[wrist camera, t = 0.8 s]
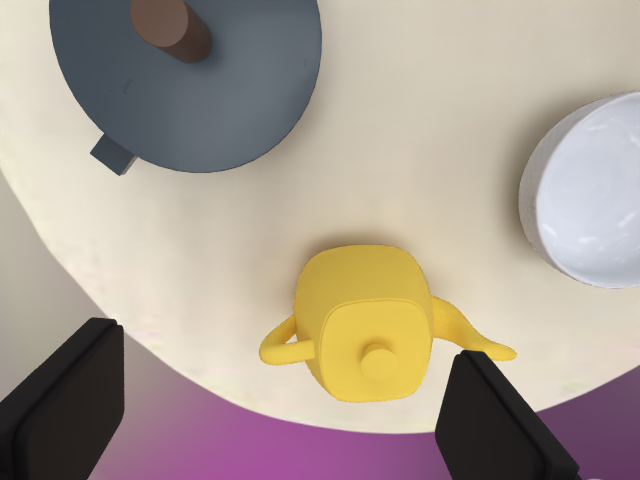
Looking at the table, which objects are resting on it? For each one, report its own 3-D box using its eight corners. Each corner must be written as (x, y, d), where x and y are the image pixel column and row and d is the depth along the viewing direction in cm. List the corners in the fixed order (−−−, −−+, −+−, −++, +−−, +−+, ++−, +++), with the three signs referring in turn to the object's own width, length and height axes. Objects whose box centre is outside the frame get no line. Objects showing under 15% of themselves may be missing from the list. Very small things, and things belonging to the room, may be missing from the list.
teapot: (452, 344, 43) (512, 429, 31) (272, 357, 42) (262, 449, 30) (460, 228, 39) (532, 274, 27) (261, 239, 38) (245, 292, 26)
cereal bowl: (692, 117, 37) (780, 116, 30) (617, 275, 42) (680, 305, 35) (531, 74, 35) (588, 62, 28) (472, 245, 39) (508, 270, 33)
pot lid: (9, 52, 25) (-92, 27, 18) (162, -187, 22) (106, -317, 15) (218, 217, 29) (195, 244, 22) (371, 33, 26) (397, 4, 19)
